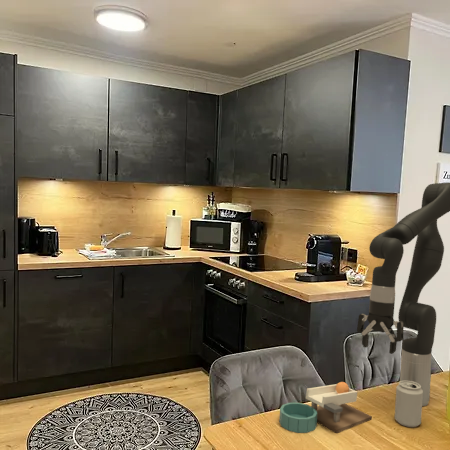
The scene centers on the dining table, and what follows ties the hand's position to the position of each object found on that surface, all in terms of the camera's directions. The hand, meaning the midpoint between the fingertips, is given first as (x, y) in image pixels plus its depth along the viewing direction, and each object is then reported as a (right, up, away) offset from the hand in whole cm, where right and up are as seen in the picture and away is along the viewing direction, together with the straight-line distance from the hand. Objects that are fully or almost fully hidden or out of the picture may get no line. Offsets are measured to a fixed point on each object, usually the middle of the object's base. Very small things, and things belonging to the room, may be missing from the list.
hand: (378, 350), depth 147 cm
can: (+6, -20, -7) cm, 22 cm away
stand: (-15, -19, -6) cm, 25 cm away
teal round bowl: (-27, -19, -11) cm, 35 cm away
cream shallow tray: (-15, -14, -7) cm, 22 cm away
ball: (-12, -11, -3) cm, 17 cm away
